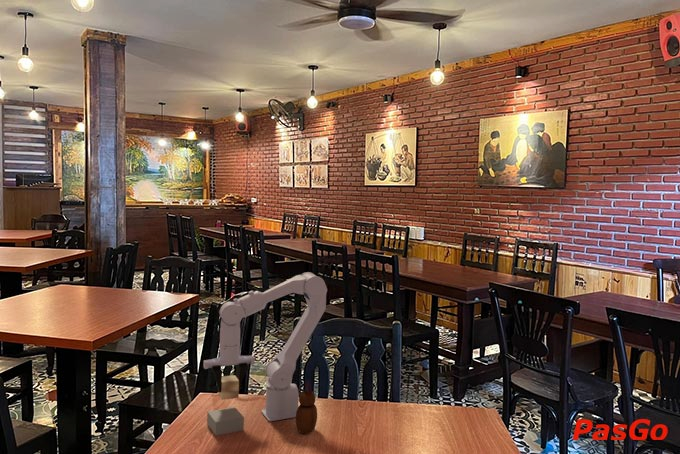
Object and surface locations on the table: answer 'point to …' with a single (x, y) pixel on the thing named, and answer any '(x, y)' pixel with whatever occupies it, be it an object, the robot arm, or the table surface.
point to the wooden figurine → (306, 411)
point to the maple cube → (229, 387)
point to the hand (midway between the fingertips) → (228, 390)
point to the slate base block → (225, 421)
